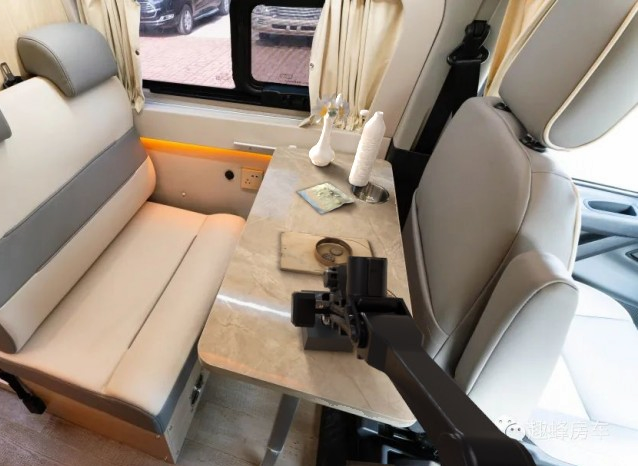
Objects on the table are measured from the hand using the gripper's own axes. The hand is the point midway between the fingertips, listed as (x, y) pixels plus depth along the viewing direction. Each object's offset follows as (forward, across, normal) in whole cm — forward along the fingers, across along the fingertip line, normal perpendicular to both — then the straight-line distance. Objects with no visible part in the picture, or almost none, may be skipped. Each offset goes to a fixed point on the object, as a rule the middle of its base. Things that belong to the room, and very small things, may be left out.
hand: (330, 303), depth 68 cm
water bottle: (+49, -21, -36) cm, 64 cm away
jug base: (+6, 0, +6) cm, 8 cm away
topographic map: (+41, -8, -29) cm, 51 cm away
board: (+22, -4, -10) cm, 24 cm away
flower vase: (+58, -10, -46) cm, 75 cm away
